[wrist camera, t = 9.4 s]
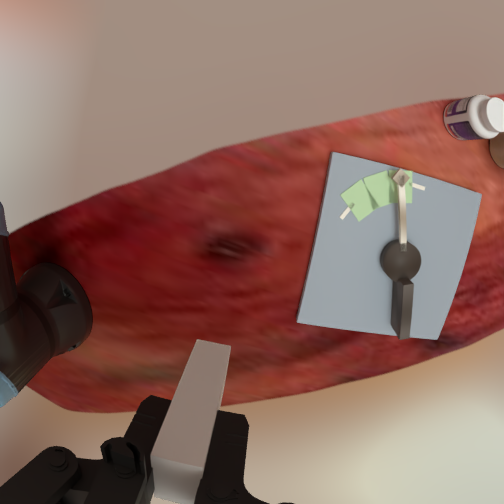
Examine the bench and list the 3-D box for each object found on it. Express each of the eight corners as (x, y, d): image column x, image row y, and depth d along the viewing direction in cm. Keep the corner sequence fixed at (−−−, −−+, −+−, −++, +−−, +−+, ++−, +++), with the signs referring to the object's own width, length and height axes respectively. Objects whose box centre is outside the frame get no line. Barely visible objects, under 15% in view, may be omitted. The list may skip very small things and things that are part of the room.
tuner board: (296, 317, 43) (296, 323, 42) (330, 151, 37) (333, 151, 35) (433, 334, 43) (437, 340, 41) (476, 192, 36) (482, 193, 35)
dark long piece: (375, 168, 35) (386, 169, 32) (413, 167, 35) (426, 168, 31) (378, 326, 41) (386, 341, 37) (411, 321, 40) (421, 335, 37)
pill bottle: (476, 138, 34) (518, 137, 25) (447, 141, 35) (487, 140, 26) (468, 100, 33) (509, 91, 24) (438, 102, 34) (476, 91, 24)
